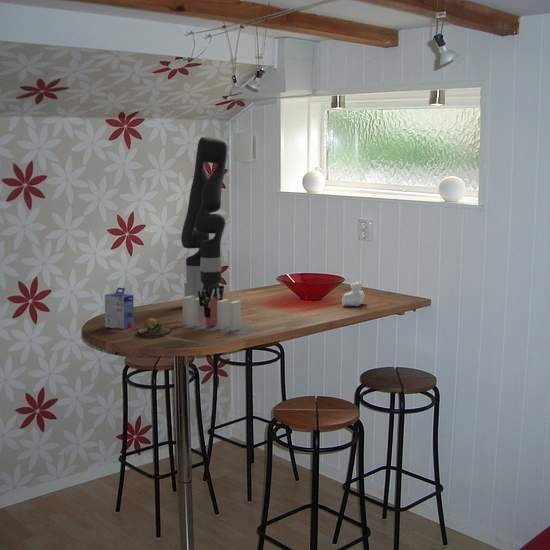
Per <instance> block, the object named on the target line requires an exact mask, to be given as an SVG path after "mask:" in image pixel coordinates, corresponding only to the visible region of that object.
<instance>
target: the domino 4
mask: <svg viewBox="0 0 550 550" xmlns="http://www.w3.org/2000/svg"><path fill="white" fill-rule="evenodd" d="M241 326H242V300H234V301H231V302H230V301H229V331H235V330H238V329H240V328H241Z"/></svg>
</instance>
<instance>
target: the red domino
mask: <svg viewBox="0 0 550 550" xmlns="http://www.w3.org/2000/svg"><path fill="white" fill-rule="evenodd" d="M208 299H209V298H208ZM207 304H208V301H207ZM210 309H211V317H210V318H206V326H207V327H211V326H214V325H217V299H216V297H213V300H212V301H211V305H210Z"/></svg>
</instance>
